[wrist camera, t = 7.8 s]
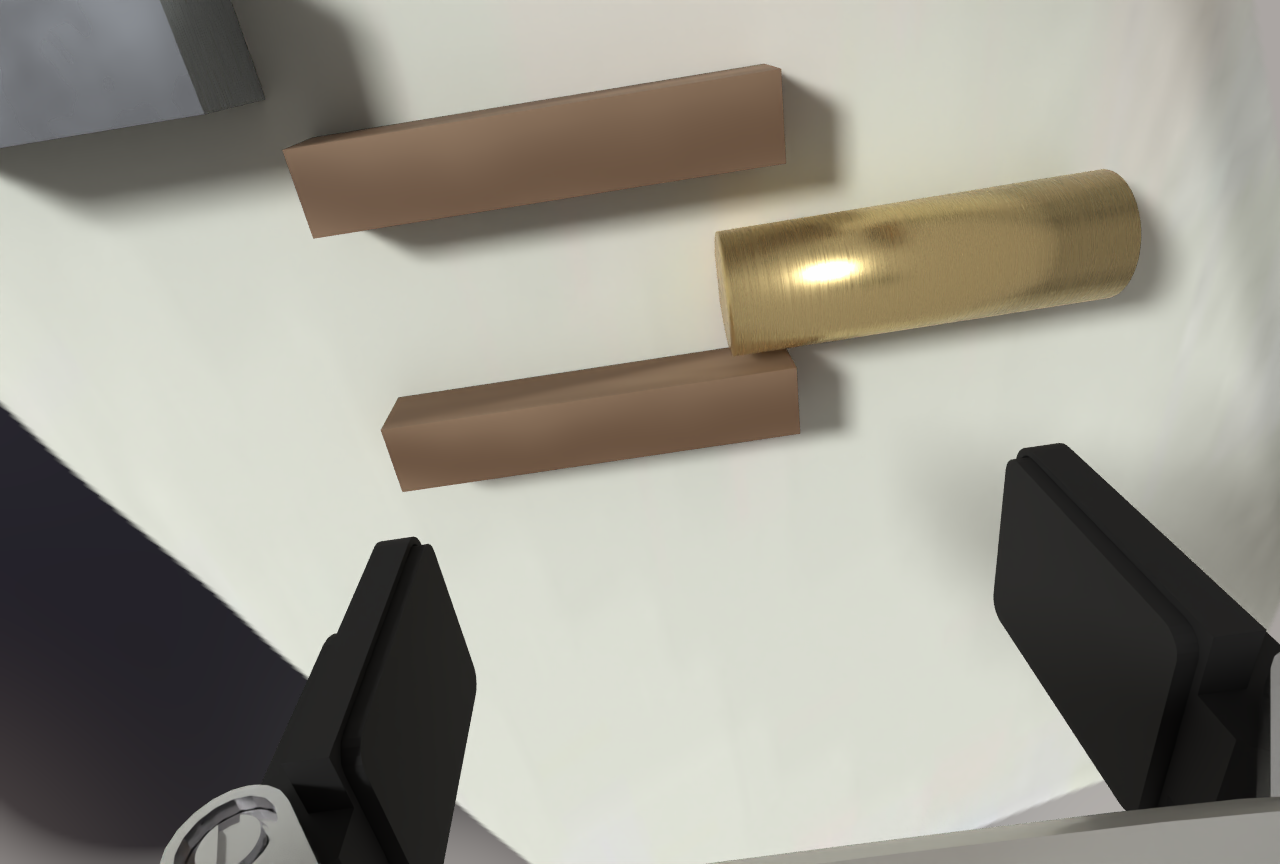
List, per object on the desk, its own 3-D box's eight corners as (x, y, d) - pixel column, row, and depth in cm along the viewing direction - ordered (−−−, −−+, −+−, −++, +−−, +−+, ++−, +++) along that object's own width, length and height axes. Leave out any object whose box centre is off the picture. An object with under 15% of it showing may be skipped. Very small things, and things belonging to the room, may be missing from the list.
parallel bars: (312, 137, 24) (282, 150, 21) (764, 63, 23) (781, 68, 21) (417, 455, 29) (402, 491, 27) (785, 401, 29) (799, 433, 26)
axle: (716, 294, 27) (736, 381, 25) (712, 205, 24) (734, 295, 22) (1054, 241, 27) (1105, 324, 25) (1096, 142, 24) (1159, 227, 21)
